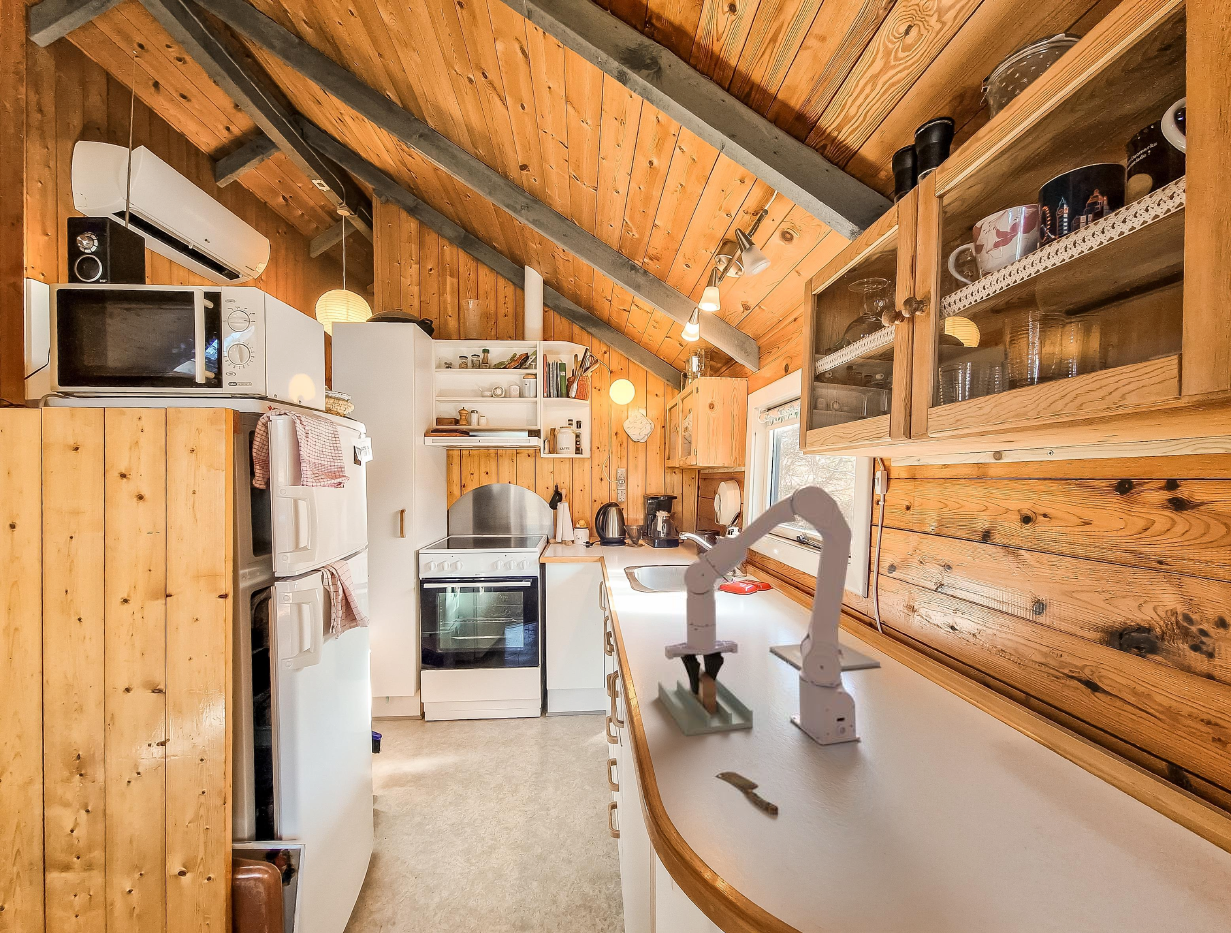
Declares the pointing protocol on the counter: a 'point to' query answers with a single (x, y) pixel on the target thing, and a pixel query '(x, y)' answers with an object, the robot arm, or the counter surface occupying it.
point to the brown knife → (748, 790)
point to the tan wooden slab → (706, 692)
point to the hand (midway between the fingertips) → (702, 691)
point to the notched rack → (696, 718)
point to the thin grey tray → (845, 654)
